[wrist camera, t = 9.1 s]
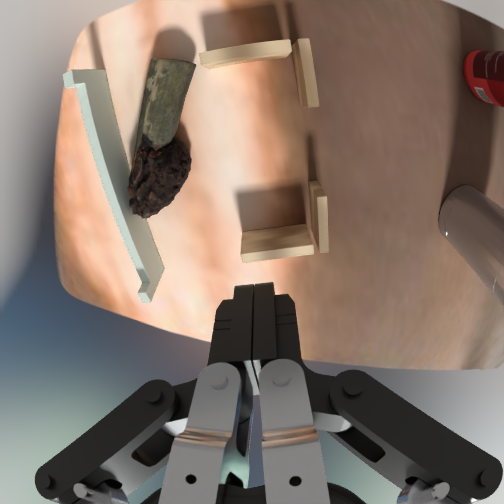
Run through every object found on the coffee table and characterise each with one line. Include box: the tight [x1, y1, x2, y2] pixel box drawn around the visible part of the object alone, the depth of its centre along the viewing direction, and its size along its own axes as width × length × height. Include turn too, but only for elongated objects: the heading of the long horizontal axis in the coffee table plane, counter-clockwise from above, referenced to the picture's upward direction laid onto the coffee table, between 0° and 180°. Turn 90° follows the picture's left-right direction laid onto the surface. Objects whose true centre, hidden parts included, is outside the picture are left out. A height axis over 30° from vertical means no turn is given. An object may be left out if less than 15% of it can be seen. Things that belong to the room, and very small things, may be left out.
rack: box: [63, 69, 165, 303], centre depth 28 cm, size 1×28×7 cm, turn 10°
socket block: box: [199, 39, 328, 263], centre depth 27 cm, size 10×22×5 cm, turn 9°
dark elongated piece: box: [127, 59, 196, 219], centre depth 26 cm, size 18×7×6 cm, turn 164°
